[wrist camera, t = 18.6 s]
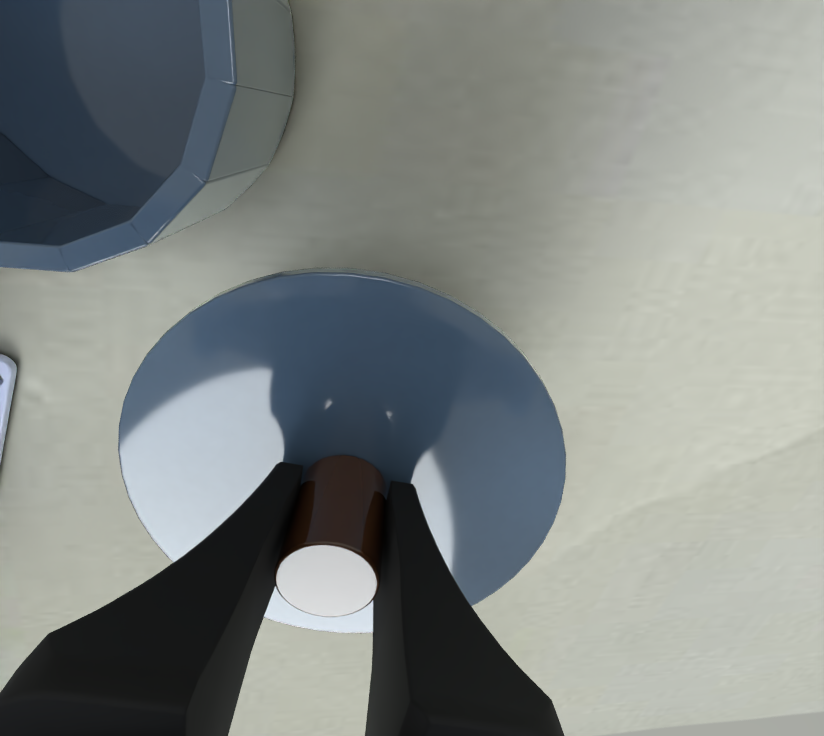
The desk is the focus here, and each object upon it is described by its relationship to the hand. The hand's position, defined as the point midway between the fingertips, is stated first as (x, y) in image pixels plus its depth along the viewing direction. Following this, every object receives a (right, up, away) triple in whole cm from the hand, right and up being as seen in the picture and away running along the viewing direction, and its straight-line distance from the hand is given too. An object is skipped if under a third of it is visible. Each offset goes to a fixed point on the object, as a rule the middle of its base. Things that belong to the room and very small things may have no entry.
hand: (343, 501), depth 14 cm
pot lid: (0, 0, +1) cm, 1 cm away
